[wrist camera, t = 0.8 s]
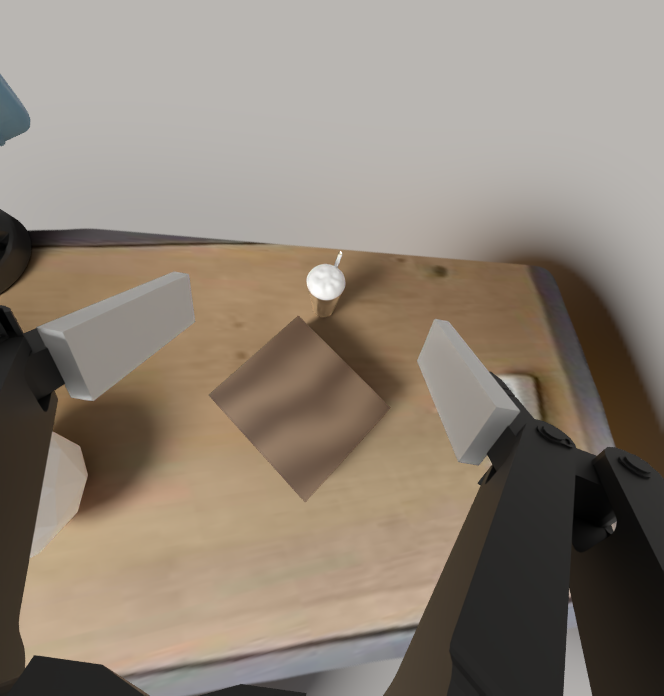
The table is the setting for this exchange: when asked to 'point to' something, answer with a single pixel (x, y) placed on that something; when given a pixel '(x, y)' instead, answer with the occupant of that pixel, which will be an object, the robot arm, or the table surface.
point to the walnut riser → (300, 406)
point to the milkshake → (325, 287)
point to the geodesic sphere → (59, 490)
